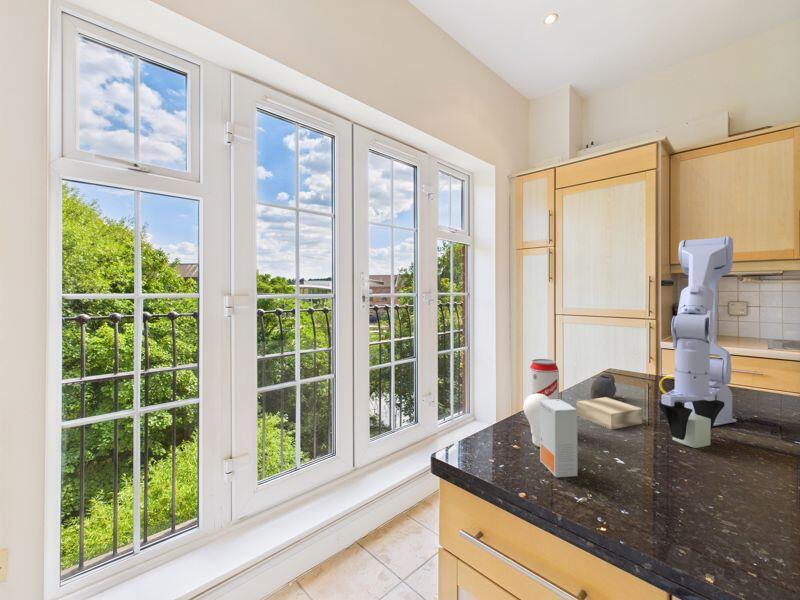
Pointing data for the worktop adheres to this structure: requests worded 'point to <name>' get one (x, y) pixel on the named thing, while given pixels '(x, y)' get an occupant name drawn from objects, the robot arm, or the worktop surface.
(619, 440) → the worktop surface
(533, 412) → the lightbulb
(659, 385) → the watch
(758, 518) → the worktop surface
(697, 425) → the sage block
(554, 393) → the beer can
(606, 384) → the perforated stone tool
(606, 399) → the maple block
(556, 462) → the skincare box
